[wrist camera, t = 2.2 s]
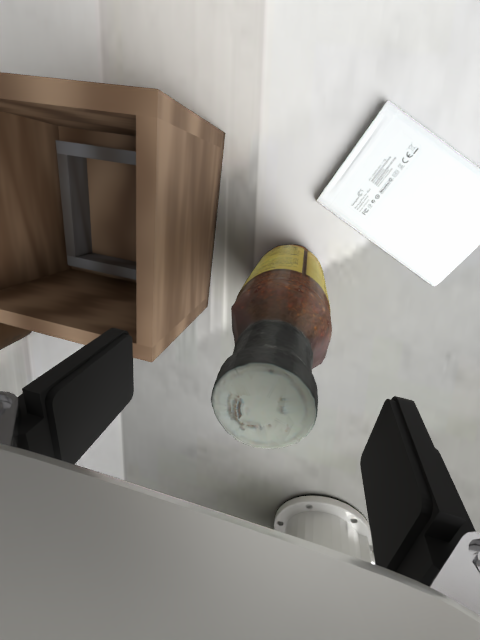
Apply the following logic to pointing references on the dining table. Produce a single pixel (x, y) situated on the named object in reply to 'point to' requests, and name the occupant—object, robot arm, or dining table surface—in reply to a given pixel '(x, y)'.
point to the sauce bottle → (275, 351)
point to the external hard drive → (409, 195)
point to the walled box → (104, 210)
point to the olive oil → (11, 334)
